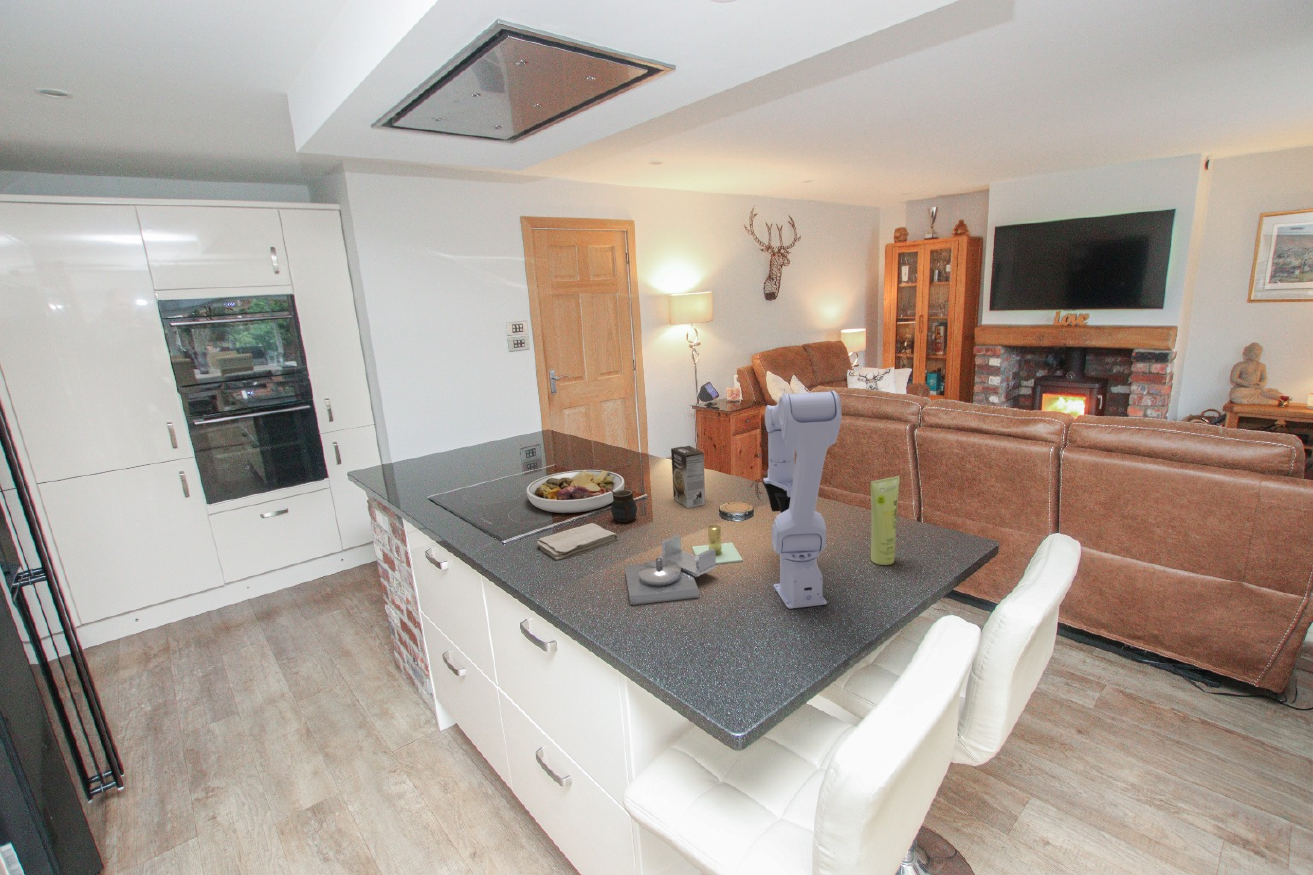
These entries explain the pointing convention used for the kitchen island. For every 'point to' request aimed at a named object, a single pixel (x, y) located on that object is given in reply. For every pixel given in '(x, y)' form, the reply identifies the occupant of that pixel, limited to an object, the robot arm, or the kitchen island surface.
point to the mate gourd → (623, 506)
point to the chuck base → (659, 588)
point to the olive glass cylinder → (715, 539)
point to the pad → (727, 554)
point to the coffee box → (688, 476)
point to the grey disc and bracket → (675, 564)
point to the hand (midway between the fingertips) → (781, 516)
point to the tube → (884, 519)
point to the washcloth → (576, 541)
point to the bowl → (574, 490)
